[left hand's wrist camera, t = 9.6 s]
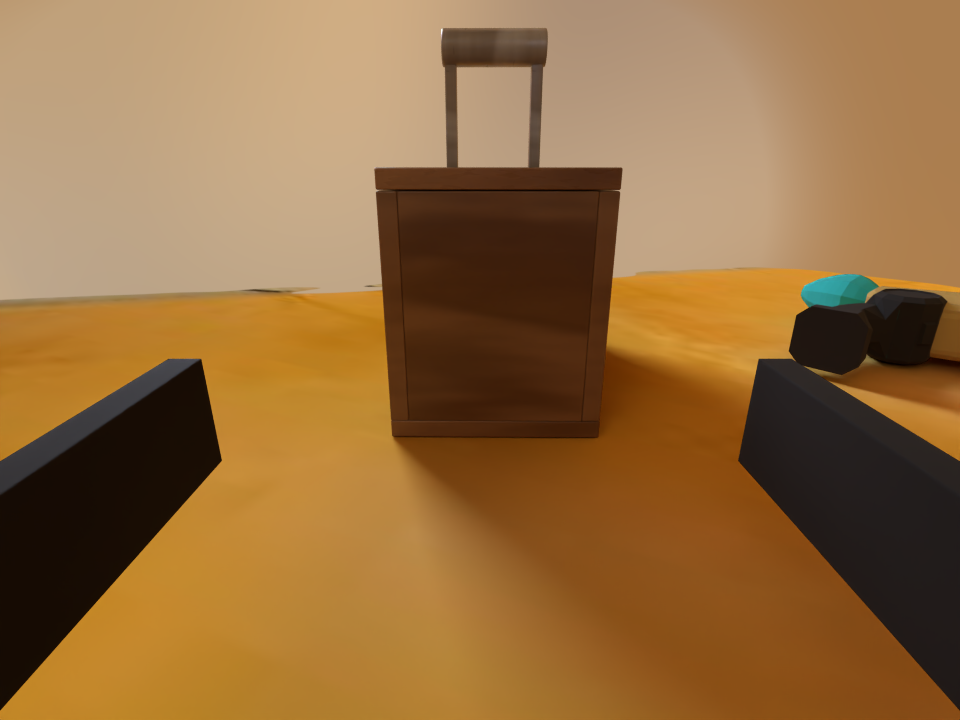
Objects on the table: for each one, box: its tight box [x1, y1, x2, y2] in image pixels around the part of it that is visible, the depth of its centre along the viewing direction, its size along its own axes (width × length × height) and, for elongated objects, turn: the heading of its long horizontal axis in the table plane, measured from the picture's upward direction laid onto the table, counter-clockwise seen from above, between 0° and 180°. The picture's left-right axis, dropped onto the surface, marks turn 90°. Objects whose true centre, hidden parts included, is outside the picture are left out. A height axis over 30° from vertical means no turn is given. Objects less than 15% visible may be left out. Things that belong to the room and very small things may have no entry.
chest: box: [376, 190, 620, 437], centre depth 30 cm, size 17×10×11 cm, turn 179°
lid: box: [374, 28, 622, 190], centre depth 27 cm, size 18×10×9 cm, turn 179°
